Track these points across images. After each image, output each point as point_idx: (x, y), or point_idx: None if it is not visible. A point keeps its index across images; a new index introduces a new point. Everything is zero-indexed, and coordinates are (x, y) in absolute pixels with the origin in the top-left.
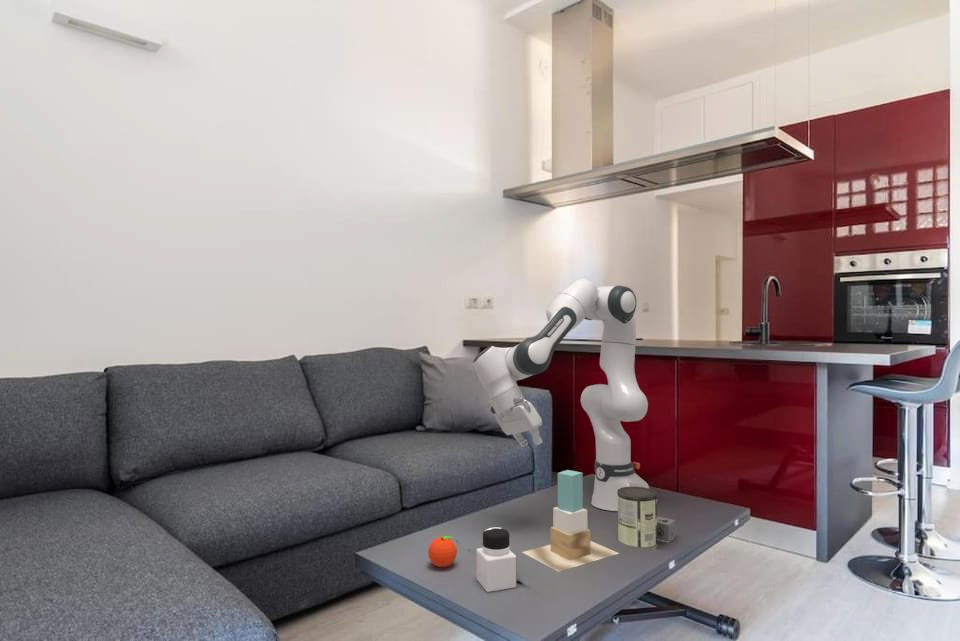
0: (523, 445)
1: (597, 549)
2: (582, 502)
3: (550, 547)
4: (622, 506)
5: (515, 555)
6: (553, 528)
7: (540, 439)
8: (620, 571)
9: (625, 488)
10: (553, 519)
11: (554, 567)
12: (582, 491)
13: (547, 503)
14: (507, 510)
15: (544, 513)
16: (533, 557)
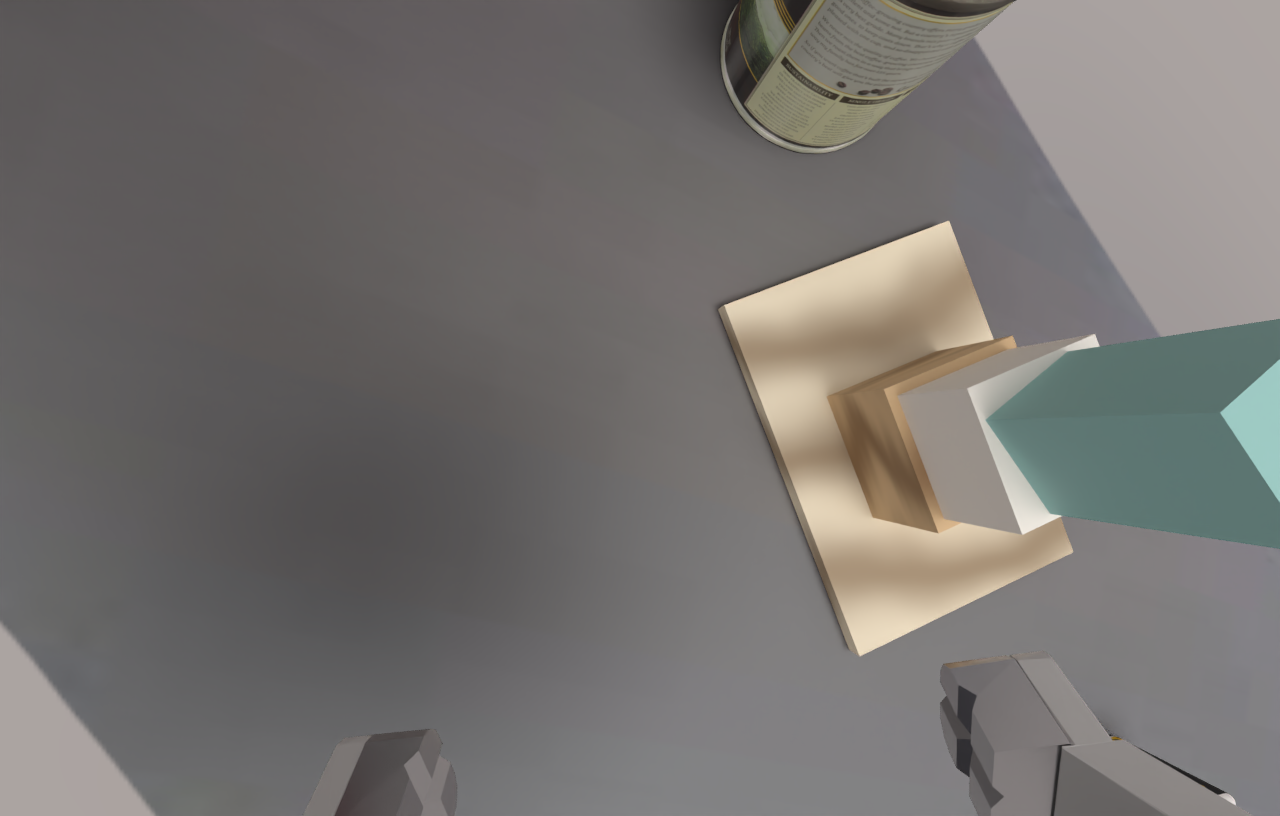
0: (453, 811)
1: (891, 295)
2: (1100, 348)
3: (832, 505)
4: (944, 46)
5: (1233, 800)
6: (956, 522)
7: (1070, 701)
8: (1049, 284)
9: None
10: (975, 524)
11: (1035, 554)
12: (1171, 338)
13: (3, 254)
14: (102, 571)
15: (228, 346)
16: (925, 616)
